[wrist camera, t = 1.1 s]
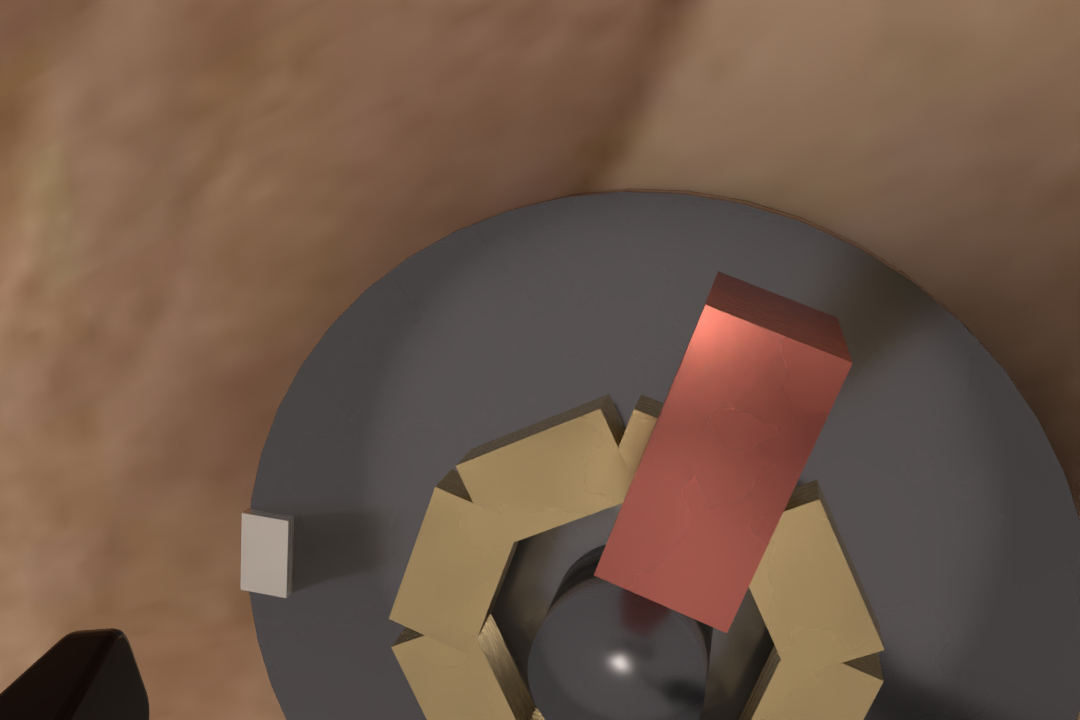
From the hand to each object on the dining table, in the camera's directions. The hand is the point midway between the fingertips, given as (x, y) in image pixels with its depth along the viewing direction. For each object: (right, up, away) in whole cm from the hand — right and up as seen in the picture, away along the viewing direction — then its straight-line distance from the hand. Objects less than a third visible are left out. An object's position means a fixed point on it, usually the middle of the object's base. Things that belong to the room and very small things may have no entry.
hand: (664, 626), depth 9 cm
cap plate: (+1, -3, +16) cm, 16 cm away
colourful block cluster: (+1, -3, +14) cm, 15 cm away
